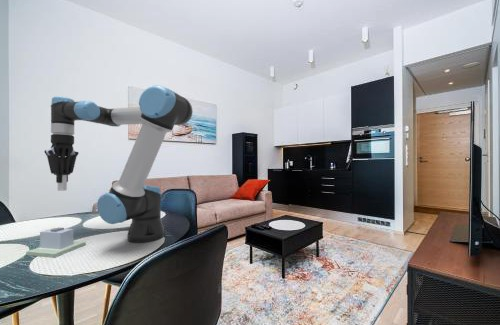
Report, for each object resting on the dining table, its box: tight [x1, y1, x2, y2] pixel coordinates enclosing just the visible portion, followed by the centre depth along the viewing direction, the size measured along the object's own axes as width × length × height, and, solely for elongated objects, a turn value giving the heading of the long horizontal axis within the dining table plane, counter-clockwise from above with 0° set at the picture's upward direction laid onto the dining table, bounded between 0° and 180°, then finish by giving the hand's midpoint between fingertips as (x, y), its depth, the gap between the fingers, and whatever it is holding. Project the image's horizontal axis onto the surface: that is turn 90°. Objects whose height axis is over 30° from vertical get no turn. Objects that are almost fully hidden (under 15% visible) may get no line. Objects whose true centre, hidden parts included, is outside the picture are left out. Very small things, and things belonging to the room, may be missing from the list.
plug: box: [39, 227, 75, 250], centre depth 83 cm, size 9×5×7 cm, turn 81°
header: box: [25, 240, 87, 258], centre depth 83 cm, size 12×12×5 cm
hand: (62, 190), depth 92 cm, fingers closed
